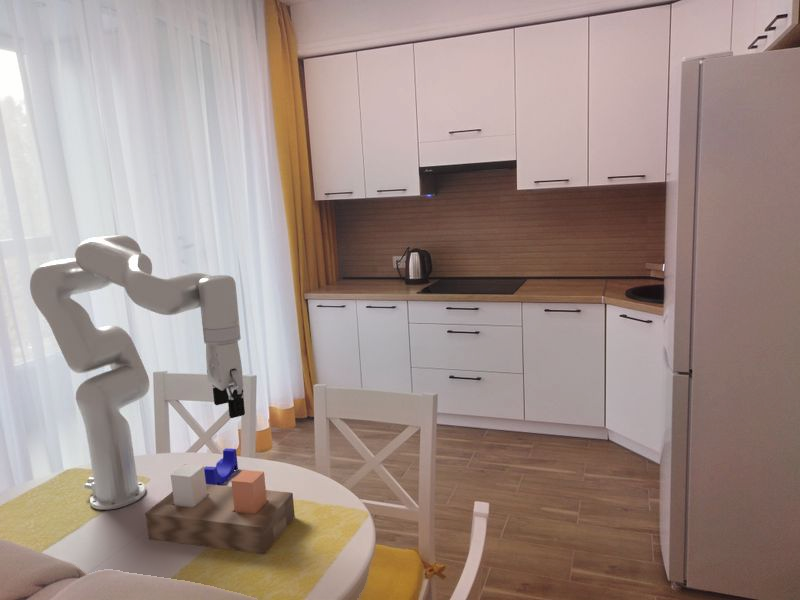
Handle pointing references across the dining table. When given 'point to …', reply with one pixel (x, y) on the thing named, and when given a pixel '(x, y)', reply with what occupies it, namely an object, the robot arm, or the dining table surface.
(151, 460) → the dining table surface
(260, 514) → the button box
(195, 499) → the white rectangular block
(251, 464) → the dining table surface
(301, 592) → the dining table surface
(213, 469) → the cable clip
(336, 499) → the dining table surface
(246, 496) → the terracotta plunger
